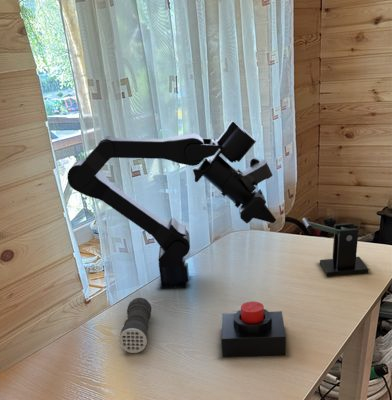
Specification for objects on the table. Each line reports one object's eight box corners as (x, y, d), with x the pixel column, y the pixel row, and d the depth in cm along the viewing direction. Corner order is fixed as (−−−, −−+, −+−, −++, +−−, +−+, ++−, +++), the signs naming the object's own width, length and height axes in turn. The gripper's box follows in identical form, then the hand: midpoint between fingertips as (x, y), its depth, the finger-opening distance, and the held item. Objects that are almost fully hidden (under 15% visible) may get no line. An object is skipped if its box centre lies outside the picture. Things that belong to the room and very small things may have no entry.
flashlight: (129, 317, 116) (126, 295, 113) (153, 315, 116) (150, 293, 113) (121, 353, 103) (117, 330, 100) (148, 351, 103) (144, 328, 100)
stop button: (241, 324, 98) (240, 312, 96) (241, 313, 102) (240, 301, 100) (264, 323, 97) (264, 311, 96) (263, 312, 101) (263, 300, 100)
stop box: (222, 357, 99) (220, 330, 96) (223, 331, 107) (222, 305, 104) (285, 355, 98) (285, 328, 94) (281, 329, 106) (281, 303, 103)
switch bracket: (326, 277, 125) (329, 234, 119) (319, 264, 132) (321, 223, 126) (368, 273, 125) (372, 230, 119) (358, 260, 132) (362, 219, 126)
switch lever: (305, 232, 120) (309, 222, 119) (300, 223, 125) (304, 214, 124) (352, 244, 122) (356, 235, 121) (345, 235, 127) (349, 226, 126)
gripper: (254, 158, 105) (307, 206, 110) (245, 141, 121) (292, 184, 126) (218, 200, 109) (271, 244, 115) (214, 178, 125) (260, 218, 131)
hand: (274, 221), depth 122 cm, fingers closed
